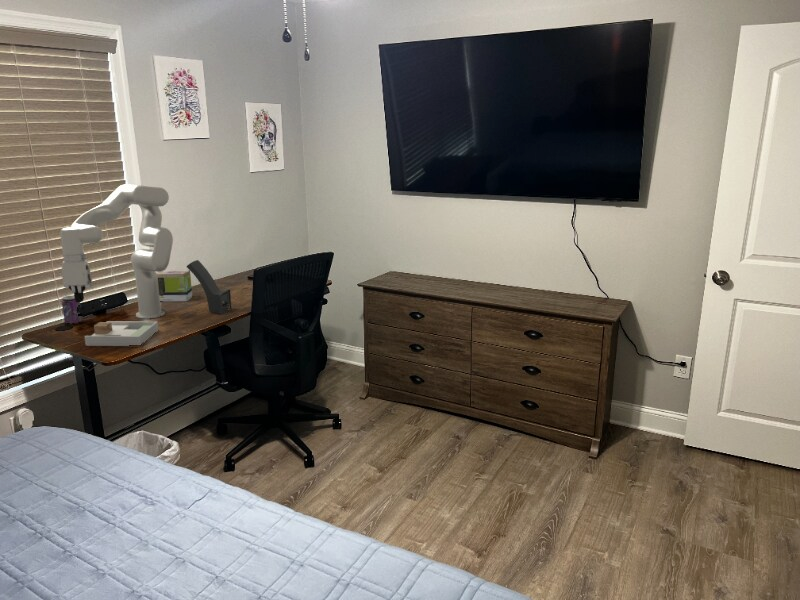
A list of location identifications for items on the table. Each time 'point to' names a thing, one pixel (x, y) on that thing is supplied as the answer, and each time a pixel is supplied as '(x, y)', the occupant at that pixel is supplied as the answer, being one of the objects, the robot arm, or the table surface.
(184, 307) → the table surface
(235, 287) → the table surface
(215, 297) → the light fixture
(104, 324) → the walnut block
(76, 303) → the beverage can
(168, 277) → the tea box
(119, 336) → the box
